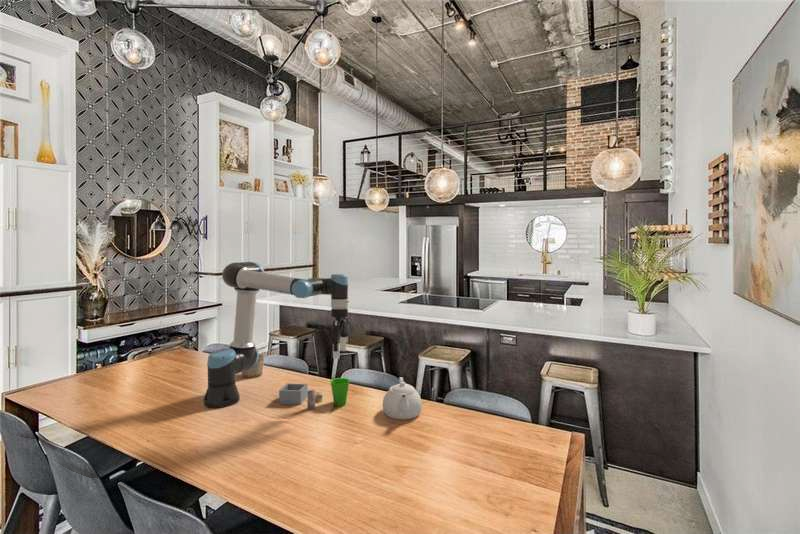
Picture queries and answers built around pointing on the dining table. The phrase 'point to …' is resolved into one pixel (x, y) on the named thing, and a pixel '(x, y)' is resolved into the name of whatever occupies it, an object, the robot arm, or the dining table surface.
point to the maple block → (318, 396)
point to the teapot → (402, 401)
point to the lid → (311, 399)
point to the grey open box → (293, 393)
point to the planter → (255, 369)
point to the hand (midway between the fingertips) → (339, 354)
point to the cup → (339, 390)
